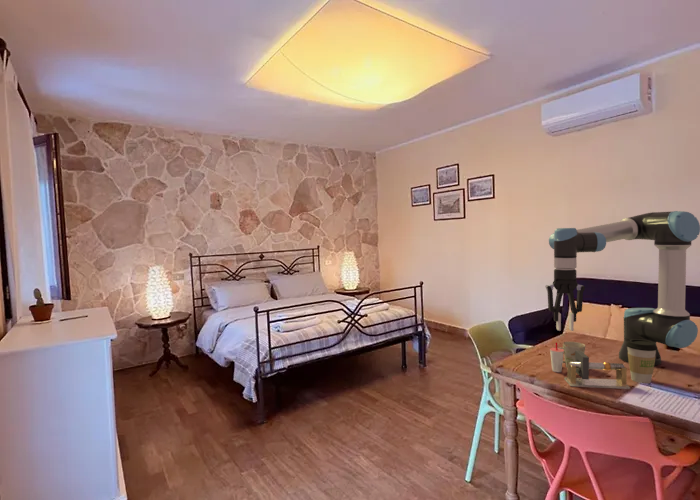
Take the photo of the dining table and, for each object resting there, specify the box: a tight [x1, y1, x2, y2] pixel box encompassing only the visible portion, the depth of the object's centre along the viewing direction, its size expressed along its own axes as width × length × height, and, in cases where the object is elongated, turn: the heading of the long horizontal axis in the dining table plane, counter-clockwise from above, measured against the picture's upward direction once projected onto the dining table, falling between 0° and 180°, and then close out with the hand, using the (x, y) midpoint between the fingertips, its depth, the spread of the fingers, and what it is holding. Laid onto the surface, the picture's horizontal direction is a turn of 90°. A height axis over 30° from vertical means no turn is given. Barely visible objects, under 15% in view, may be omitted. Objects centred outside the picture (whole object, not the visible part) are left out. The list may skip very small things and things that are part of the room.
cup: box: [549, 342, 564, 373], centre depth 167 cm, size 5×5×12 cm
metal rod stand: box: [563, 361, 631, 390], centre depth 152 cm, size 20×7×8 cm, turn 79°
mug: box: [558, 341, 586, 368], centre depth 171 cm, size 8×13×10 cm, turn 78°
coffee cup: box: [626, 339, 659, 384], centre depth 155 cm, size 10×10×15 cm
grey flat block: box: [575, 351, 590, 380], centre depth 153 cm, size 2×8×8 cm, turn 169°
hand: (564, 329), depth 154 cm, fingers open, 4 cm apart
